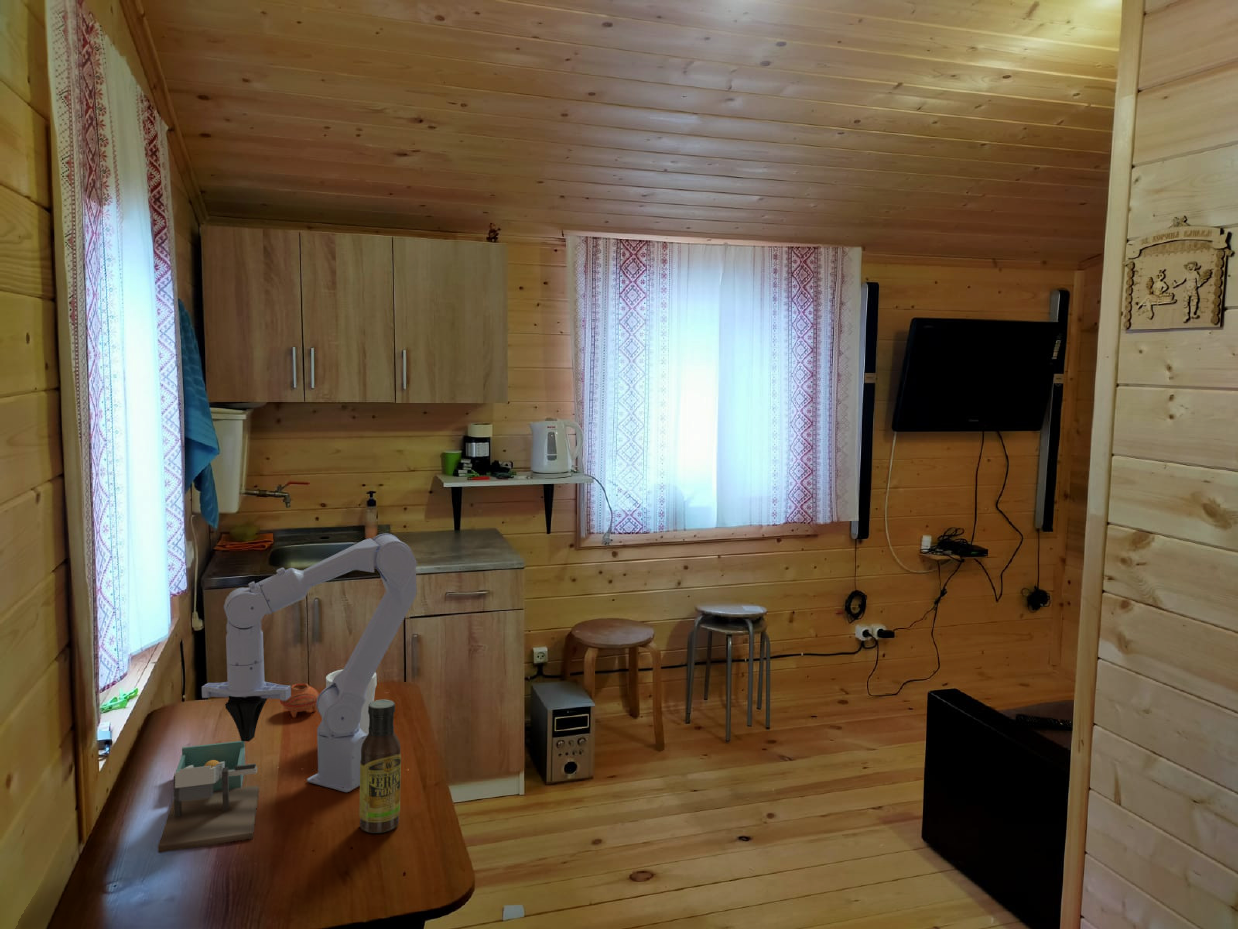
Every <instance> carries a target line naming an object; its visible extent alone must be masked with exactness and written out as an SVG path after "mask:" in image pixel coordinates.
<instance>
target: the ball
mask: <svg viewBox="0 0 1238 929" xmlns="http://www.w3.org/2000/svg"><path fill="white" fill-rule="evenodd" d="M218 763H220V762H218V761H216V760H211V761H208V762H207V763H206V764H205V765H204V766H211V768H212V767H214V766H215V765H217V764H218Z"/></svg>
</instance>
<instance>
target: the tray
mask: <svg viewBox="0 0 1238 929" xmlns="http://www.w3.org/2000/svg"><path fill="white" fill-rule="evenodd" d="M223 768H225V761H224V762H220V763H218V764H217V765H215V766H214V767H212V768H211V766H203V767H195V768H193V765H190V766H188V767H186V768H184V769H180V771H178V772H176V771H175V773H174V774H175V788H179V801H187V800H194V799H202V798H210V797H212V796H213V795H214V783H215V782H217V781H218V780H219V779H220V778H222V769H223ZM257 773H258V767H257V764H256V763H255V762H254V763H248V764H246V763H245V765H238V766H235V770H228V776H237V775H244V776H245V775H251V774H252V775H253V774H257Z"/></svg>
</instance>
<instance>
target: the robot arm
mask: <svg viewBox="0 0 1238 929" xmlns="http://www.w3.org/2000/svg"><path fill="white" fill-rule="evenodd" d="M417 565H418V561H417V560H416V558H415V556H414V553H413V550H412V549H411V547H410V546H409V545H408V544H407V543H406V542H404V541H401V540H400V539H399V538H398V537H397V536H396V535H394V534H391V533H387V532H386V533H379V534H378V535H376V536H374V537H373V538H366V539H364V540H362V541H359V542H357V543H355V544H353V545H351V546H349V547H347V548H344V549H343V550H341V551H339V552H337V553H335V554H333V555H331V556H328V557H327V558H325V559H323V560H321V561H319V562H316V563H315V564H313V565H310V566H309V567H307V568H305V569H303V570H302V569H297V568H294V567H289V568H288V569H285V568H284V567H280V568H278V569H276V574H273V575H271V576H269V577H267V578H265V579H263V580H260V581H258V582H256V583H255V581H251V582H249V583H248V587H239V588H236V589H234V590H232V591H231V592H230V593H228V595H227V596H226V598H225V600H224V604H223V610H224V613H225V617H226V619H227V621H226V625H225V626H226V628H225V629H226V630H225V631H226V632H227V633H226V635H225V642H226V643H225V644H226V646H225V647H226V651H225V652H226V673H227V675H226V676H227V681H224V682H207V683H205V684H204V685H202V686H201V697H202V699H209V698H210V697H214V698H215V697H216V698H228V699H227V701H226V702H225V704H224V706H225V709H226V711H227V712H228V713H229V714H230V716H231V717H232V720H233V721H234V724H235V725H236V728H237V731H238V734H239V738H240V741H245V742H251V740H253V739H254V738H255V737H256V736H255V734H256V729H257V725H258V722H259V719H260V716H261V713H262V711H263V708H264V706H265V704H266V702H267V701H268V699H271V700H272V699H273V700H274V699H276V700H279V701H280V700H284V701H286V700H287V699H288V698H289V697H291V686H292V685H284V684H280V683H279V684H278V683H273V682H268V681H265V659H264V652H265V650H264V632H263V630H262V620H263V618H264V617H265V615H271V614H273V613H275V612H278V611H280V610H282V609H284V608H286V607H288V606H291V605H293V604H296V603H297V602H300V601H302V600H304V599H305V598H306V597H307V595H308V593H309V590H310V589H311V588H313V587H315V586H317V585H320V584H323V583H325V582H328V581H330V580H333V579H335V578H337V577H340V576H343V575H345V574H347V573H350V572H353V571H360V572H361V571H362V572H368V573H375V569H376V570H377V572H378V573H379V574H380V578H381V581H382V584H383V587H384V589H385V592H384V594H383V597H382V598H381V600H380V601H379V604H378V605H377V607H376V609H375V611H374V613H373V614H372V616H371V619H370V620H369V622H368V623H367V626H366V627H365V629H364V631H363V633H362V634H361V637H360V638H359V640H358V642H357V644H356V645H355V647H354V650H353V651H352V653H351V655H350V657H349V658H348V659H347V662H346V664H345V666H344V668H343V669H342V670H343V671H341V672H340V673H339V674H338V675H336V676H335V678H334V680H333V681H332V683H331V684H330V685H329V686H328V687H327V688H326V687H325V688H324V689H323V690H322V691H321V692H320V693H319V696H318V699H317V709H316V710H317V711H318V712H317V713H319V715H320V716H321V721H320V723H319V725H318V726H317V728H316V731H317V734H316V738H317V773H315V774H314V775H312V776H310V777H308V778H307V779H306V782H308V783H311V784H315V785H318V786H322V787H325V788H329V789H332V790H333V789H334V790H336V791H339V792H344V793H348V792H351V791H352V790H354V789H356V788H358V787H360V761H361V747H362V743H363V742H364V740H365V738H366V737H367V734H365V733H364V732H363V731H362V730H361V728H360V720H361V709H362V706H363V704H364V702H365V700H366V695H367V688H368V684H369V682H370V680H371V679H372V677H373V675H374V673H376V671H377V669H378V667H379V666H380V664H381V662H382V660H383V659H384V656H385V654H386V652H387V651H388V649H389V647H390V645H392V642H393V639H394V638H395V636H396V635H397V633H398V630H399V628H400V627H401V625H402V623H403V621H404V620H405V618H406V615H407V614H408V612H409V610H410V609H411V606H412V605H413V603H414V600H415V599H416V597H417V594H418V593H417V591H418V590H417V570H416V568H417Z"/></svg>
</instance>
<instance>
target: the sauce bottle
mask: <svg viewBox="0 0 1238 929" xmlns="http://www.w3.org/2000/svg"><path fill="white" fill-rule="evenodd" d="M395 711H396V703H395V701H393V700H390V699H385V698H384V699H376V700H374V701H373V702H371V703H370V704H369V707H368V713H369V728H368V729H369V734H368V735H367V737H366V738H365V740H364V742H363V743H362V747H361V761H360V786H359V810H358V811H359V815H358V816H359V826H360V829H361V830H363V831H364V832H366V833H370V834H381V833H386V832H389V831H391V830H394V829H395V828H396V827H398V825H399V822H400V813H401V774H402V772H401V770H402V769H401V768H402V766H401V765H402V764H401V763H402V762H401V761H402V756H401V743H400V739H399V738H398V736H397V735H396V733H395V726H394V720H395V719H394V717H395V716H394V714H395Z"/></svg>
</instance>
